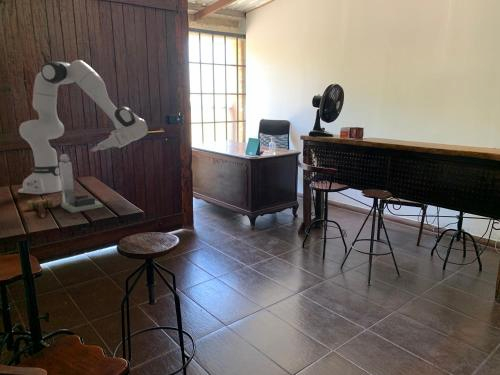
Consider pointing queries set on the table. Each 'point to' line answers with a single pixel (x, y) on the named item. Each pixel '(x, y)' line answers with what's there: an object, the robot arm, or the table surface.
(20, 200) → the table surface
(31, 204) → the gavel
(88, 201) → the keeper bracket
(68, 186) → the steel link
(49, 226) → the table surface
